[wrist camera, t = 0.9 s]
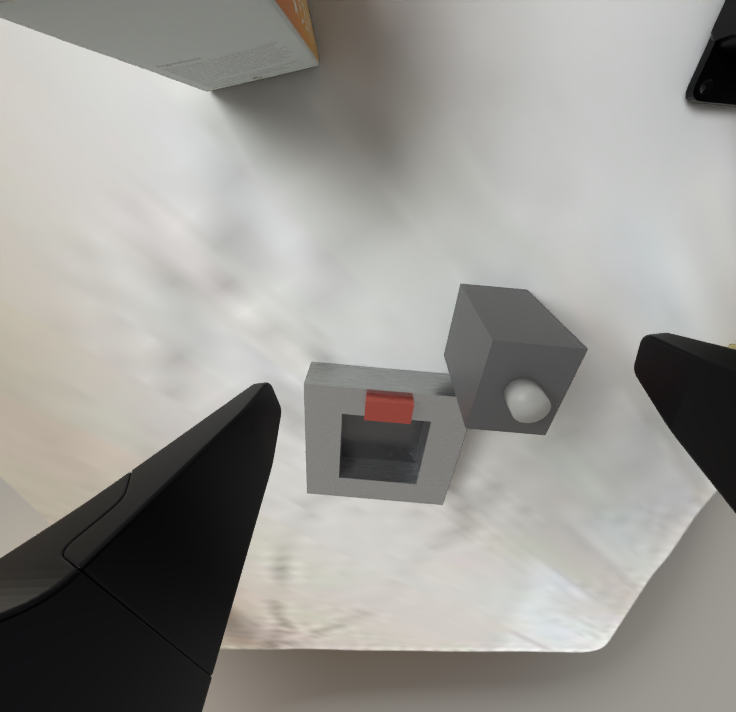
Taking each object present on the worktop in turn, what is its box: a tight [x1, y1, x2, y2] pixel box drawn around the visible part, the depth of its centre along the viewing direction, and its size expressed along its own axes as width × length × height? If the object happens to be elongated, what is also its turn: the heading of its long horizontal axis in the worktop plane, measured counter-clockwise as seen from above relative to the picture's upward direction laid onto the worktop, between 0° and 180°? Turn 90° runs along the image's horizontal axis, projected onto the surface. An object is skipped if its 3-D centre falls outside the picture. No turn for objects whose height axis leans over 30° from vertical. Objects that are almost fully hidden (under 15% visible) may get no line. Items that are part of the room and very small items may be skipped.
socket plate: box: [304, 362, 467, 505], centre depth 25 cm, size 11×11×3 cm
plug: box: [444, 284, 588, 435], centre depth 18 cm, size 4×5×8 cm
